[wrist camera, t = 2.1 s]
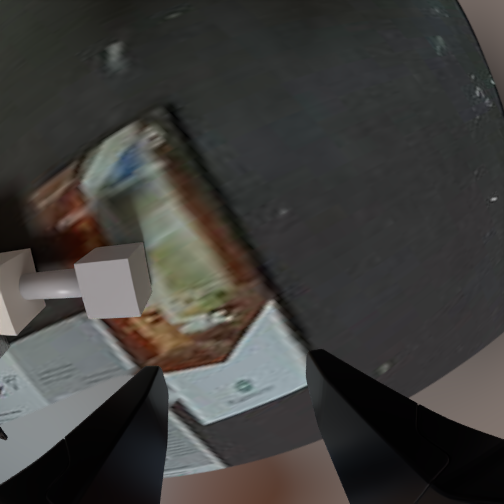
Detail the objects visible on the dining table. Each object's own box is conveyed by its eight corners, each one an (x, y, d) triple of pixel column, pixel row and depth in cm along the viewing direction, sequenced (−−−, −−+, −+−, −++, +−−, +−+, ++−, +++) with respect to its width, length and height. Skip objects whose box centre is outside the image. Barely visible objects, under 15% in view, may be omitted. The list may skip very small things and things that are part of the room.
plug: (153, 299, 17) (138, 335, 13) (-22, 307, 16) (-50, 330, 12) (141, 233, 16) (119, 254, 12) (-37, 259, 15) (-69, 277, 11)
